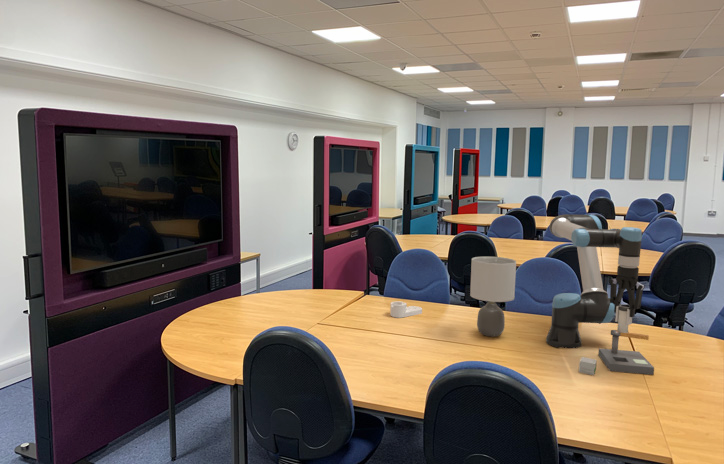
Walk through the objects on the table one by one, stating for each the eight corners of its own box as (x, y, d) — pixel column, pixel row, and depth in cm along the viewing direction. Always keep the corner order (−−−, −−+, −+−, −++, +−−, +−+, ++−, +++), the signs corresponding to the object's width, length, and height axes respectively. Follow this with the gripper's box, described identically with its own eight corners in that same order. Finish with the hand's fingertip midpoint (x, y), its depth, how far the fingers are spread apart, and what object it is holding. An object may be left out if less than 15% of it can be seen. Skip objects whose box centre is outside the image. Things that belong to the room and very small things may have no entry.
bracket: (397, 318, 266) (397, 306, 265) (387, 314, 273) (387, 302, 272) (425, 312, 278) (425, 301, 277) (414, 309, 285) (415, 297, 284)
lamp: (465, 337, 236) (468, 261, 232) (472, 325, 255) (475, 255, 251) (510, 343, 229) (514, 265, 224) (514, 330, 248) (518, 258, 243)
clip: (648, 340, 204) (648, 337, 204) (610, 335, 210) (610, 332, 210) (647, 338, 207) (648, 334, 207) (610, 332, 213) (610, 329, 213)
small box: (594, 375, 194) (594, 363, 193) (578, 372, 197) (579, 360, 196) (596, 371, 198) (597, 359, 198) (580, 367, 202) (581, 356, 201)
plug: (618, 332, 200) (620, 308, 199) (616, 329, 204) (618, 305, 203) (629, 333, 200) (631, 309, 198) (626, 330, 203) (628, 306, 202)
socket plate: (609, 370, 199) (611, 346, 197) (598, 354, 216) (600, 332, 215) (653, 374, 195) (655, 349, 194) (638, 358, 213) (640, 335, 212)
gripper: (654, 269, 193) (649, 327, 196) (613, 261, 207) (608, 316, 210) (644, 270, 189) (639, 330, 192) (602, 263, 203) (598, 318, 206)
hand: (623, 322), depth 201 cm, fingers closed on plug, 4 cm apart
